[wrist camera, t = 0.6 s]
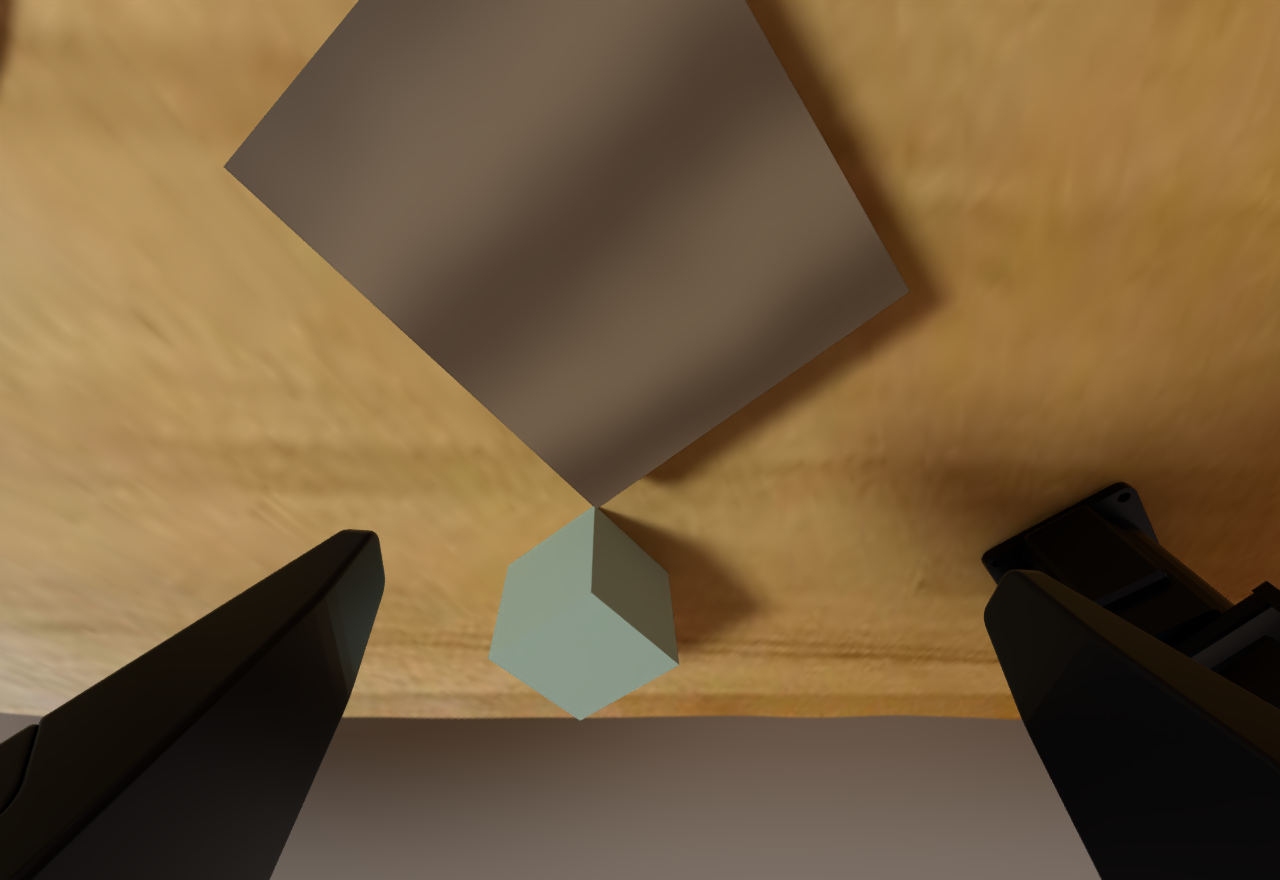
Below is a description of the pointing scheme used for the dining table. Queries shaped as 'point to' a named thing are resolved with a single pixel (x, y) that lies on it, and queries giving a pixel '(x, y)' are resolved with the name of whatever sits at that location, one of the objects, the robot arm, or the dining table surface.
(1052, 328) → the dining table surface
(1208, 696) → the robot arm
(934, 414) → the dining table surface
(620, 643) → the sage cube
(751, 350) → the walnut block
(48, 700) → the dining table surface
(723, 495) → the dining table surface
